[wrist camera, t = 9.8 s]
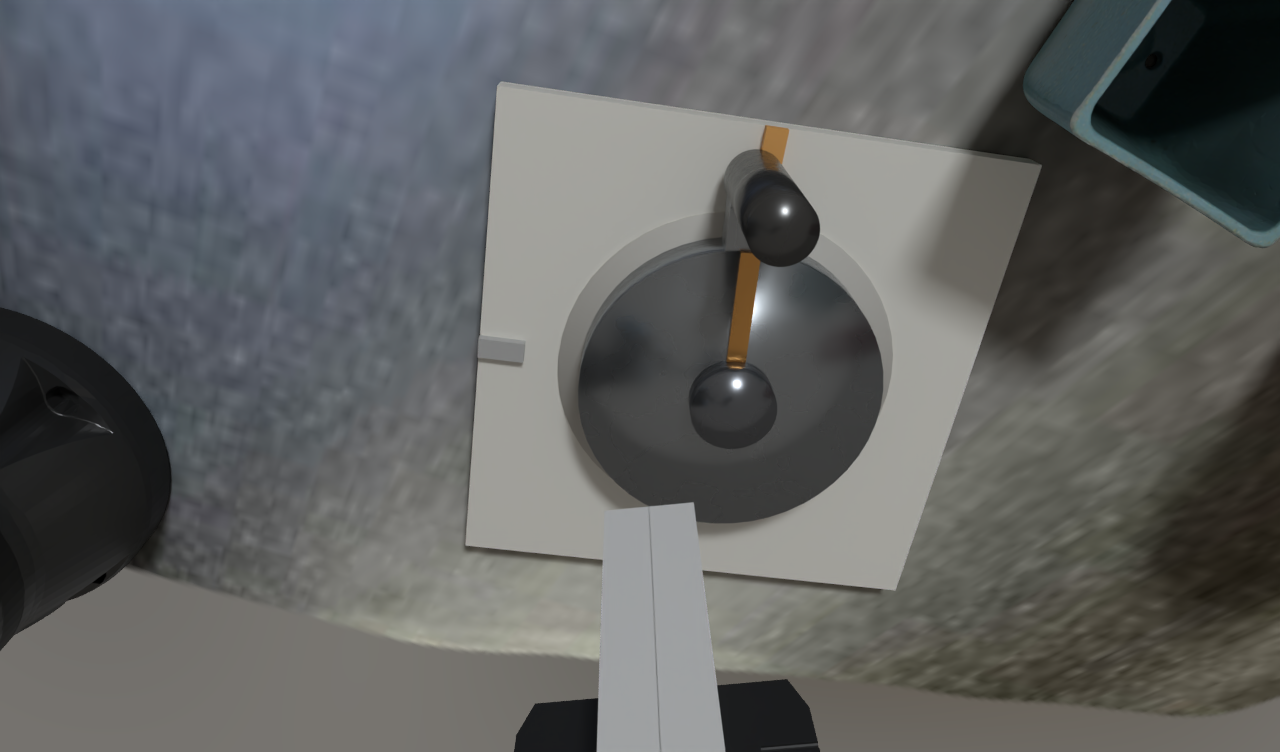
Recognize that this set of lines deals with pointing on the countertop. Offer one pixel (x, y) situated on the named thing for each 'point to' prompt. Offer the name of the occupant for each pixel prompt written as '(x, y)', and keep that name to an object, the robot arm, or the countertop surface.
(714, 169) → the panel
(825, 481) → the dial
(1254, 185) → the flower pot
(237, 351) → the countertop surface
